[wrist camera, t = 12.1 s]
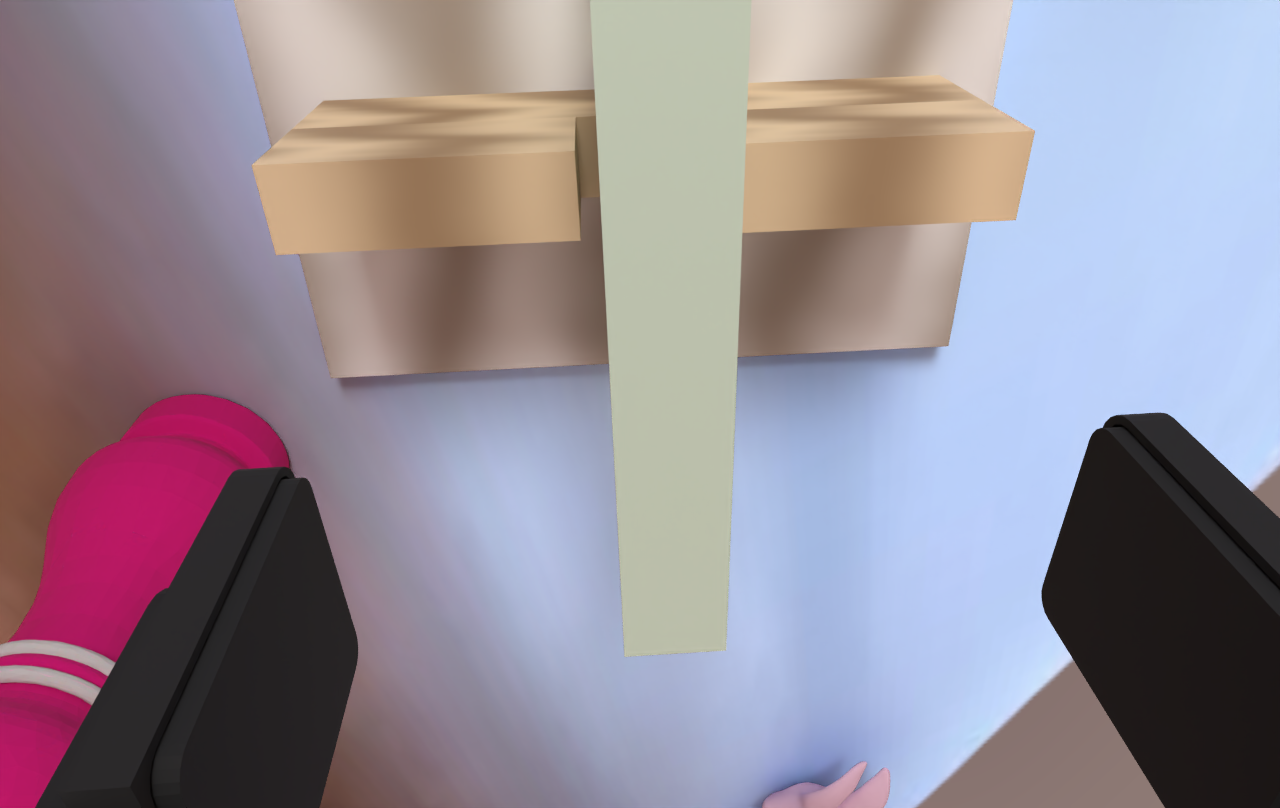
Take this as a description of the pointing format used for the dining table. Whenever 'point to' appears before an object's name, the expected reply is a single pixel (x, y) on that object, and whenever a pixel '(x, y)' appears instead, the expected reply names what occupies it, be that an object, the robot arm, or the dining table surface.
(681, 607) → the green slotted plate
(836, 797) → the rabbit figure
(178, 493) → the pepper mill
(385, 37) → the oak plate stand
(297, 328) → the dining table surface
